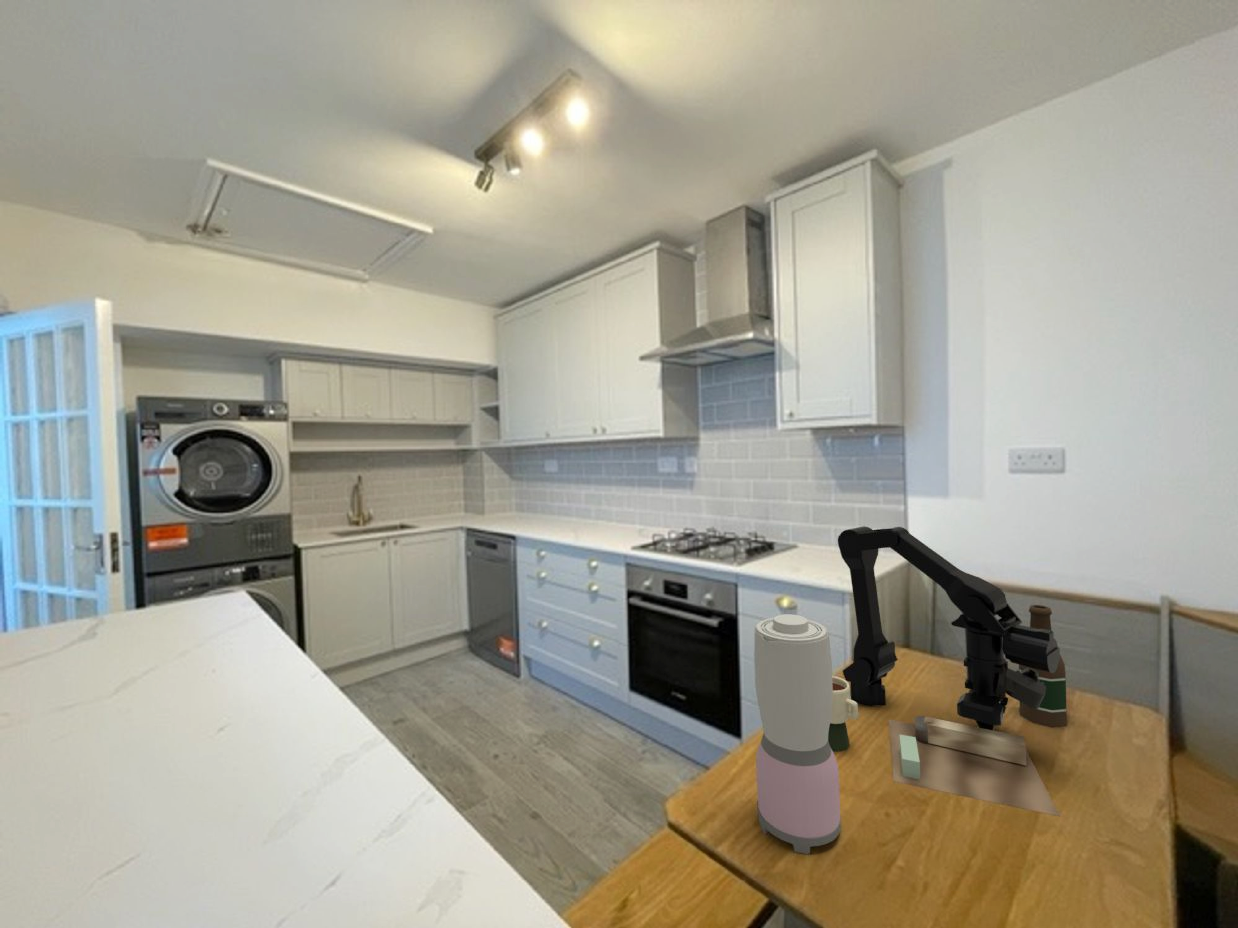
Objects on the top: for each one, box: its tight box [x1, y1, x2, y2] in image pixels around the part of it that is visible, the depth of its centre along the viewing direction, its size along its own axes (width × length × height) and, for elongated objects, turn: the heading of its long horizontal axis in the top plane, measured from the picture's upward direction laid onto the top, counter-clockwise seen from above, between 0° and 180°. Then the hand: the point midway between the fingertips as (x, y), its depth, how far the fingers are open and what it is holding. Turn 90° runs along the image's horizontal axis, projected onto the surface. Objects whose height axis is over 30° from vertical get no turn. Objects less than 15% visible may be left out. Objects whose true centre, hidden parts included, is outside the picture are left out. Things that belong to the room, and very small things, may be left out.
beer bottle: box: [1018, 604, 1068, 729], centre depth 103 cm, size 8×8×24 cm
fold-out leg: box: [914, 715, 1027, 765], centre depth 94 cm, size 17×3×4 cm, turn 57°
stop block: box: [899, 734, 920, 780], centre depth 90 cm, size 3×8×3 cm, turn 154°
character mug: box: [828, 675, 859, 753], centre depth 98 cm, size 11×7×13 cm, turn 35°
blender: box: [753, 613, 842, 855], centre depth 80 cm, size 16×12×32 cm
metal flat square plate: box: [887, 719, 1061, 817], centre depth 91 cm, size 22×21×2 cm
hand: (987, 737), depth 94 cm, fingers closed
